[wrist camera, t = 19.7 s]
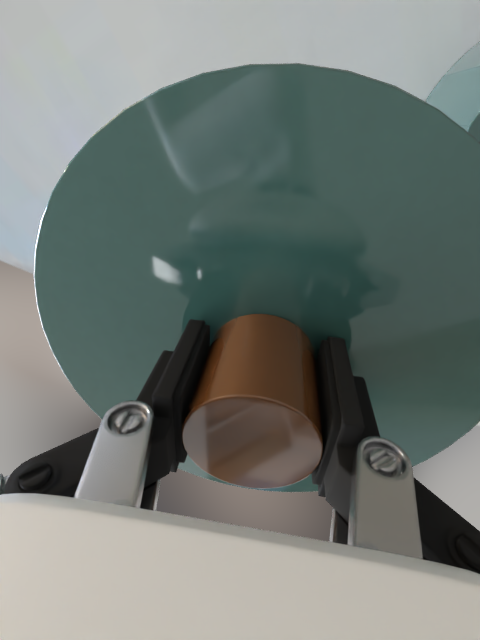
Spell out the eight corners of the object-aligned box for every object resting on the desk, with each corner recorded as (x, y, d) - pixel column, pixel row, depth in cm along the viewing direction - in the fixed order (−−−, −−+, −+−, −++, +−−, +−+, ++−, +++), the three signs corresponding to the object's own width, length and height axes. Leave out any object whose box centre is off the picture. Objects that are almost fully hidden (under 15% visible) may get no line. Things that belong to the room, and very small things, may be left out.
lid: (95, 443, 19) (37, 541, 15) (-14, 49, 9) (-279, -7, 5) (411, 494, 18) (450, 619, 13) (664, 92, 8) (1113, 67, 4)
